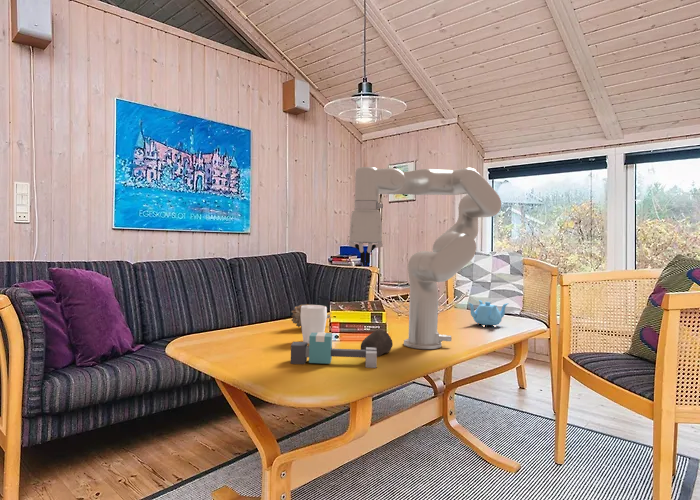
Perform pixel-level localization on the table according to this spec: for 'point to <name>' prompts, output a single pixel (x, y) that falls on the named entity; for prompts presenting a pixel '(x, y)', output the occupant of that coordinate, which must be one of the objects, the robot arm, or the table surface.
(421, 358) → the table surface
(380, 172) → the robot arm
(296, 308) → the pine cone
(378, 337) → the stone
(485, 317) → the teapot
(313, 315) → the cup
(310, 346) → the sleeve
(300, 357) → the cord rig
